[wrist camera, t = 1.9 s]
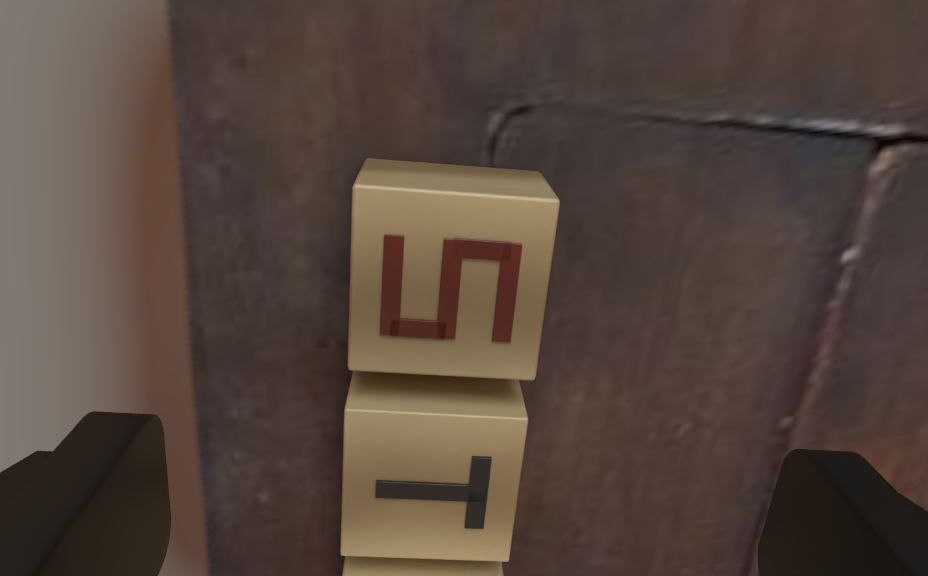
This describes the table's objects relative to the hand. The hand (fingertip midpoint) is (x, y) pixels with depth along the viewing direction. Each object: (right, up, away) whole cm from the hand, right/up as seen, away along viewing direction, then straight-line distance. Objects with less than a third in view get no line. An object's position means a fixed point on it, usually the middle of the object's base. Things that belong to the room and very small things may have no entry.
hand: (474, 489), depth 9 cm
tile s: (-1, +4, +9) cm, 10 cm away
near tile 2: (-1, -1, +11) cm, 12 cm away
